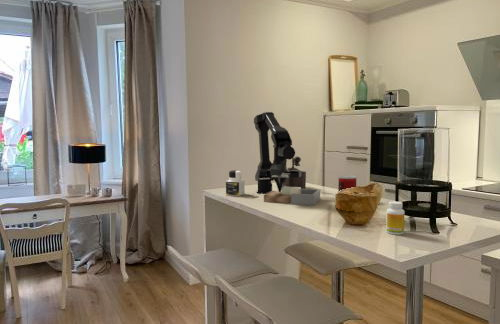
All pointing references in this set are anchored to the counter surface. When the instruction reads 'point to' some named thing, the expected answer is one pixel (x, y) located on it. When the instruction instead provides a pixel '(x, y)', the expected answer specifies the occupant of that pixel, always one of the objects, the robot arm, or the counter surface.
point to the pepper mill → (294, 180)
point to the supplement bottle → (395, 218)
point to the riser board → (277, 197)
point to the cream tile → (295, 190)
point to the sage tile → (286, 190)
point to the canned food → (346, 182)
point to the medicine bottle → (235, 184)
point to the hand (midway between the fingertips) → (279, 191)
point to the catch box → (306, 197)
